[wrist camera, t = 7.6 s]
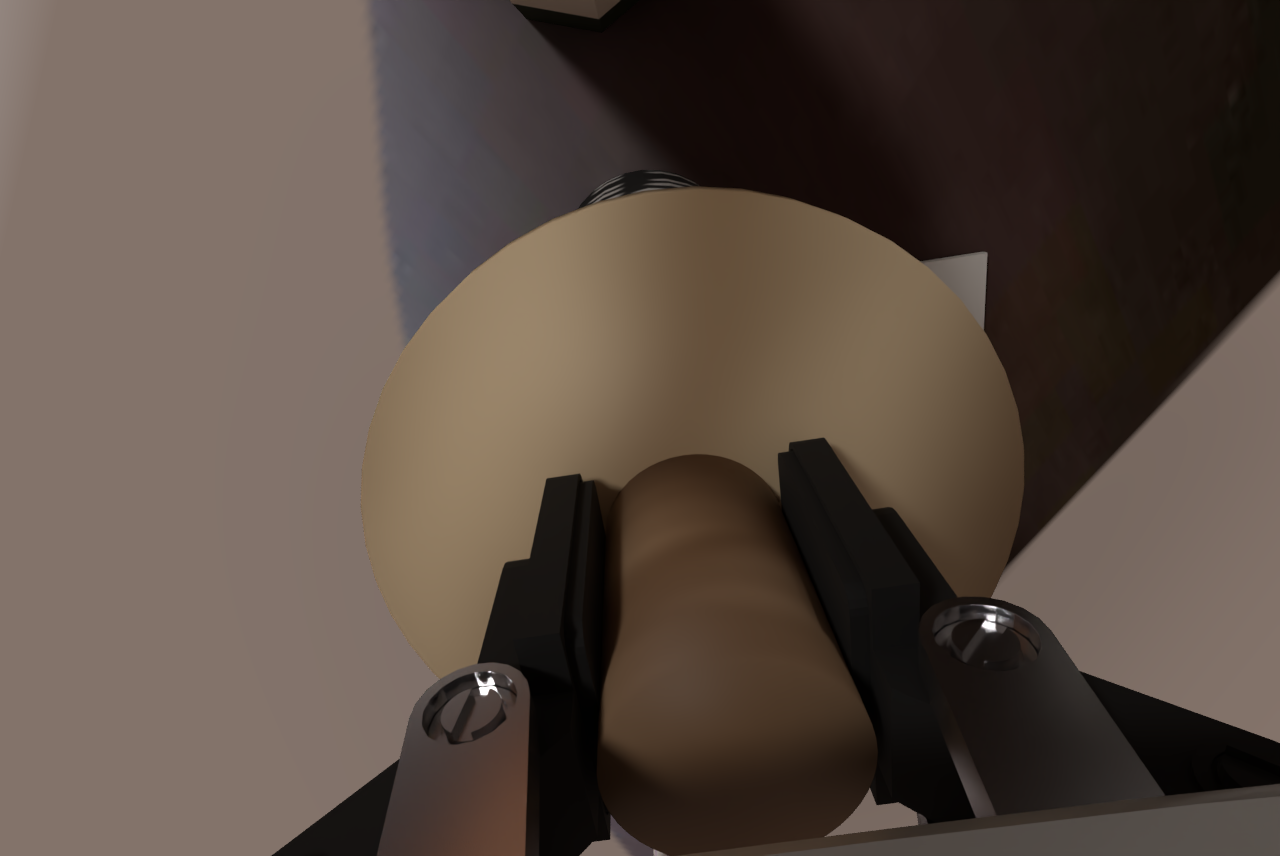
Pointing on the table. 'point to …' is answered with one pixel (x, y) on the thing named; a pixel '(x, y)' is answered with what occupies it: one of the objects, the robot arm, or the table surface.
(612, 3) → the wine bottle
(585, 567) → the robot arm
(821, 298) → the lid
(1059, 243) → the table surface
